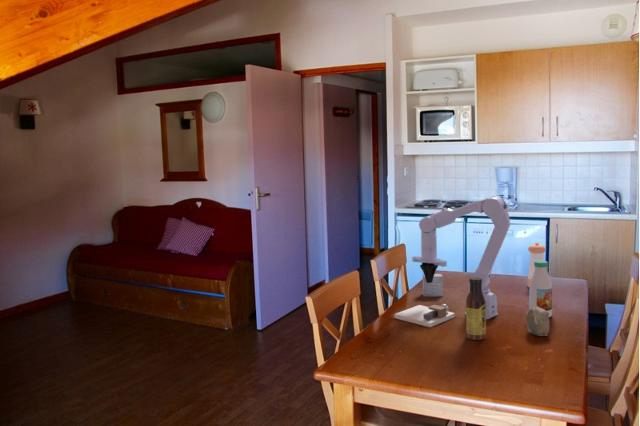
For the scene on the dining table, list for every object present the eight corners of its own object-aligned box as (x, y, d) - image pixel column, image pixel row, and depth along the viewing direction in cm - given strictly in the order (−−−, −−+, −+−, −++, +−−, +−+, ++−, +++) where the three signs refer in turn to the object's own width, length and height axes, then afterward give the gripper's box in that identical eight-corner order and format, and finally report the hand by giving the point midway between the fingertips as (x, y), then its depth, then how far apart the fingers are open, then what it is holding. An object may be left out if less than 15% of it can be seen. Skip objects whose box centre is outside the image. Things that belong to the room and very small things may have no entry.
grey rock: (535, 344, 182) (531, 319, 179) (520, 332, 190) (515, 308, 187) (560, 333, 184) (556, 308, 180) (544, 321, 192) (539, 297, 188)
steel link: (442, 310, 208) (442, 302, 208) (450, 312, 206) (450, 304, 205) (422, 318, 200) (422, 310, 199) (429, 320, 197) (429, 312, 197)
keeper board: (454, 317, 206) (454, 304, 205) (430, 327, 195) (430, 314, 195) (419, 308, 217) (419, 296, 217) (394, 317, 207) (394, 305, 206)
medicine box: (441, 293, 237) (441, 273, 235) (443, 296, 232) (442, 276, 231) (422, 294, 237) (422, 274, 236) (423, 297, 233) (423, 276, 232)
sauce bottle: (486, 341, 180) (486, 281, 178) (466, 340, 182) (466, 280, 179) (485, 334, 187) (485, 276, 184) (465, 333, 188) (465, 275, 185)
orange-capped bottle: (527, 288, 240) (528, 244, 237) (526, 284, 247) (527, 241, 244) (546, 289, 238) (547, 244, 235) (544, 284, 245) (545, 241, 242)
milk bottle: (527, 317, 202) (528, 263, 200) (530, 311, 209) (531, 258, 207) (550, 319, 199) (551, 264, 196) (552, 313, 206) (553, 260, 203)
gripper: (407, 247, 216) (407, 281, 218) (438, 251, 206) (439, 287, 207) (418, 244, 221) (418, 277, 223) (449, 248, 210) (450, 283, 212)
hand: (429, 282), depth 215 cm, fingers closed
